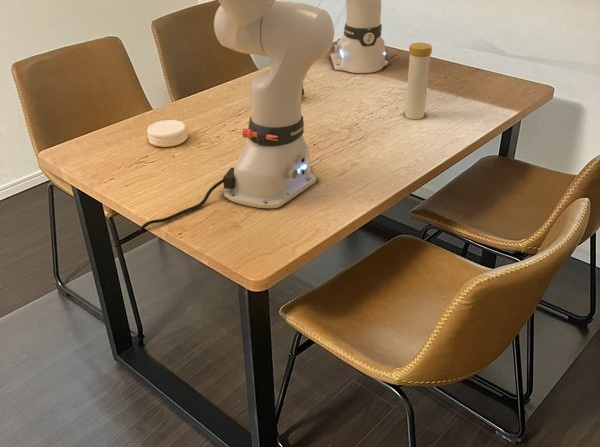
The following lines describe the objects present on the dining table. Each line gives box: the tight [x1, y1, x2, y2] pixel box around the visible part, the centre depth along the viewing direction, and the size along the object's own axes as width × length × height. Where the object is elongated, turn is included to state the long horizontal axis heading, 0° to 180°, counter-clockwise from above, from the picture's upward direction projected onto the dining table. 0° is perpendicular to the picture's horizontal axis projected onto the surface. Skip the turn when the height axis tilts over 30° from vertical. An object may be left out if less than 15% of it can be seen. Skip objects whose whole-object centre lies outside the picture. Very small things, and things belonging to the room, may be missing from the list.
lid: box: [408, 42, 433, 56], centre depth 163 cm, size 6×6×2 cm
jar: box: [404, 53, 431, 120], centre depth 168 cm, size 5×5×19 cm
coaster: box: [146, 119, 188, 148], centre depth 160 cm, size 10×10×4 cm
